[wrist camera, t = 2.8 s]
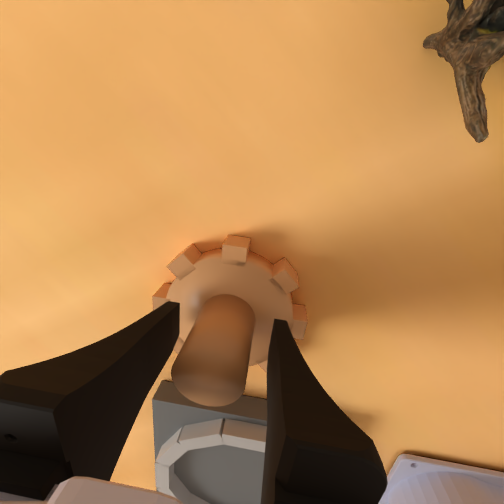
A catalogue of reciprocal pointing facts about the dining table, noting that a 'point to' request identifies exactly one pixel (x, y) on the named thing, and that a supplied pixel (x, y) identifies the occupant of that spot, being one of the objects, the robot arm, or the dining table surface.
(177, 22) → the dining table surface
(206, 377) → the planet gear
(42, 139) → the dining table surface
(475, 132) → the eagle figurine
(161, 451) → the carrier plate
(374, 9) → the dining table surface
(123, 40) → the dining table surface
